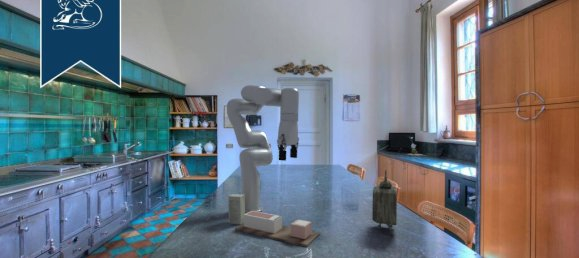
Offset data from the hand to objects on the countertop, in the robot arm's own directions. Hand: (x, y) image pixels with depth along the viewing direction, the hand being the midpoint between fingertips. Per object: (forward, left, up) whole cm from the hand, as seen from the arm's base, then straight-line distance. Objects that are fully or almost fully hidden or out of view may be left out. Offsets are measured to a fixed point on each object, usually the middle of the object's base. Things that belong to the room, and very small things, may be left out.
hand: (288, 158), depth 112 cm
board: (-2, -6, -29) cm, 30 cm away
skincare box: (-23, -5, -30) cm, 38 cm away
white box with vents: (-9, -6, -29) cm, 31 cm away
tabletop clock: (+36, +19, -30) cm, 50 cm away
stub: (+9, -6, -28) cm, 30 cm away
